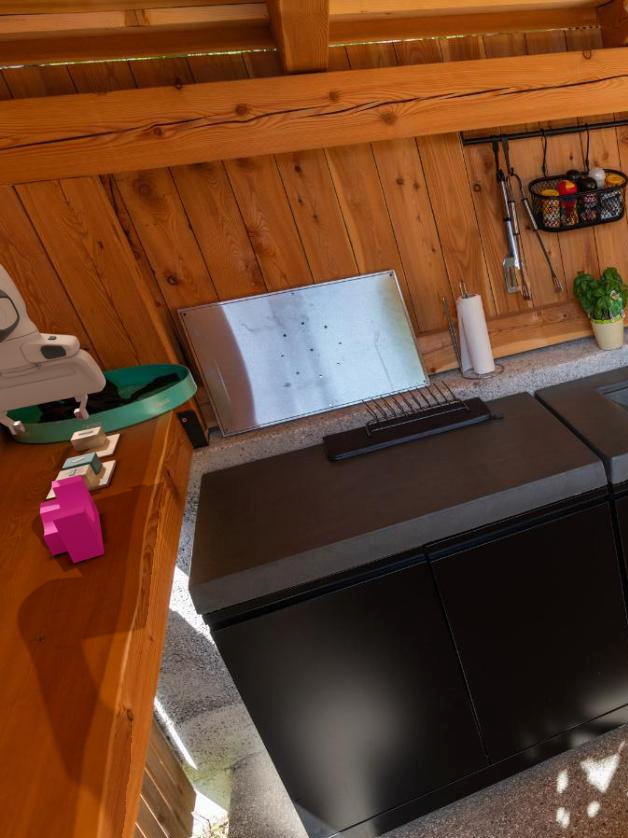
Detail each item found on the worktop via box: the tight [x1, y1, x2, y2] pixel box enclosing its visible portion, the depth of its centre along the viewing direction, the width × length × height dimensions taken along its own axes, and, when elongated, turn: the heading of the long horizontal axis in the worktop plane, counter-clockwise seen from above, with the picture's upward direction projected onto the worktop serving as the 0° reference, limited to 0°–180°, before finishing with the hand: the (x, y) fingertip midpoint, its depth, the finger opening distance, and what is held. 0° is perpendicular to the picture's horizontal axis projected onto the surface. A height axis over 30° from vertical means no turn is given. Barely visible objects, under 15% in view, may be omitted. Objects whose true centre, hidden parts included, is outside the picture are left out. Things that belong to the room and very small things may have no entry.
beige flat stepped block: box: [70, 426, 121, 459], centre depth 149 cm, size 9×11×3 cm
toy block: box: [39, 475, 105, 564], centre depth 117 cm, size 15×6×8 cm, turn 38°
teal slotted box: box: [62, 452, 103, 474], centre depth 139 cm, size 4×4×3 cm
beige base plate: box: [45, 459, 117, 501], centre depth 137 cm, size 9×11×3 cm
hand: (52, 425), depth 135 cm, fingers open, 8 cm apart
